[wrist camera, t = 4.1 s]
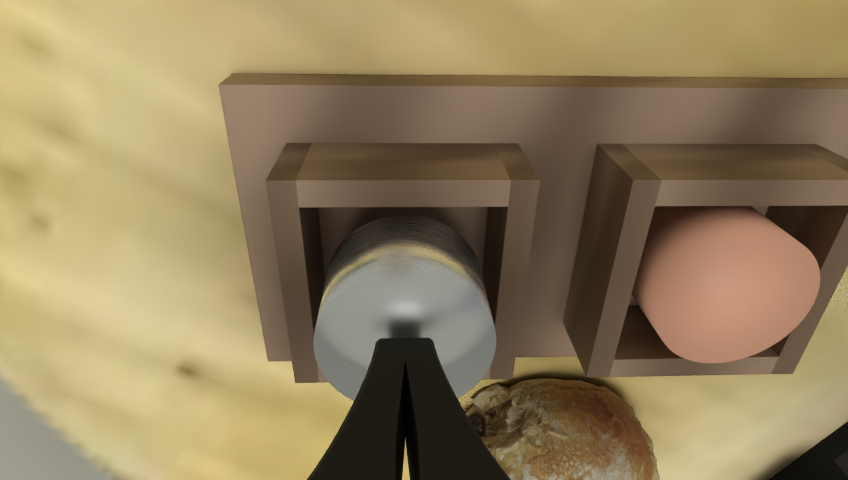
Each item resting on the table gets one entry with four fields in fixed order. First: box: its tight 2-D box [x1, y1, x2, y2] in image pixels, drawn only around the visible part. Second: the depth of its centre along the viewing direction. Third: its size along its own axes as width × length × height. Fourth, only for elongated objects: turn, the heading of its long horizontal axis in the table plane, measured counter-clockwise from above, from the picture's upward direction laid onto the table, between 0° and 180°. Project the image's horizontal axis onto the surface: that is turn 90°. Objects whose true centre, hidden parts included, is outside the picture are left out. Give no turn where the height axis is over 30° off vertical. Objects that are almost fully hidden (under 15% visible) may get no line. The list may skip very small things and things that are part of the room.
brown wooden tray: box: [219, 74, 848, 383], centre depth 18 cm, size 21×11×4 cm, turn 89°
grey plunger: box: [313, 215, 496, 401], centre depth 15 cm, size 5×5×3 cm
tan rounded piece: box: [632, 206, 820, 363], centre depth 17 cm, size 5×5×3 cm
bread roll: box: [466, 378, 660, 480], centre depth 24 cm, size 10×10×8 cm
